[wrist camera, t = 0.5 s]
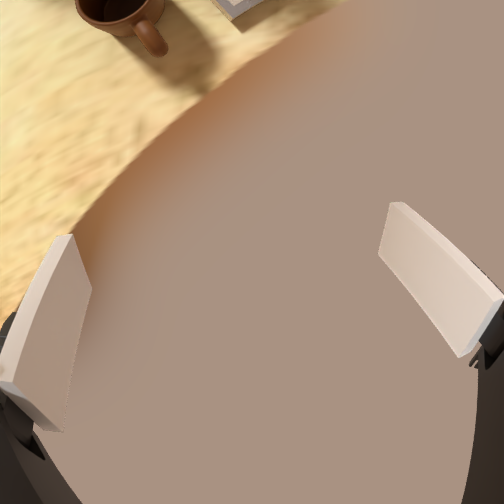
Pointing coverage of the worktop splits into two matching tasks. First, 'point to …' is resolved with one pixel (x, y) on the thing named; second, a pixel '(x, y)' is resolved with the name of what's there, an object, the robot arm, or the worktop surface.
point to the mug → (127, 20)
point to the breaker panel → (235, 7)
